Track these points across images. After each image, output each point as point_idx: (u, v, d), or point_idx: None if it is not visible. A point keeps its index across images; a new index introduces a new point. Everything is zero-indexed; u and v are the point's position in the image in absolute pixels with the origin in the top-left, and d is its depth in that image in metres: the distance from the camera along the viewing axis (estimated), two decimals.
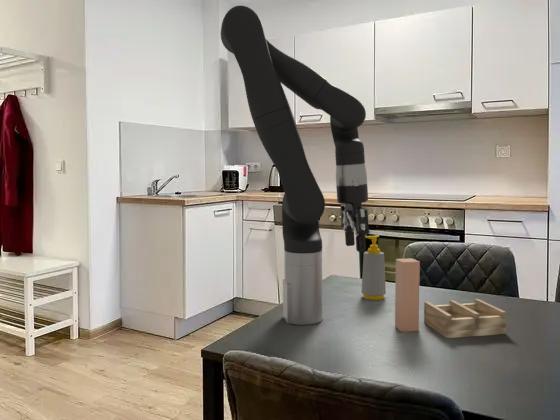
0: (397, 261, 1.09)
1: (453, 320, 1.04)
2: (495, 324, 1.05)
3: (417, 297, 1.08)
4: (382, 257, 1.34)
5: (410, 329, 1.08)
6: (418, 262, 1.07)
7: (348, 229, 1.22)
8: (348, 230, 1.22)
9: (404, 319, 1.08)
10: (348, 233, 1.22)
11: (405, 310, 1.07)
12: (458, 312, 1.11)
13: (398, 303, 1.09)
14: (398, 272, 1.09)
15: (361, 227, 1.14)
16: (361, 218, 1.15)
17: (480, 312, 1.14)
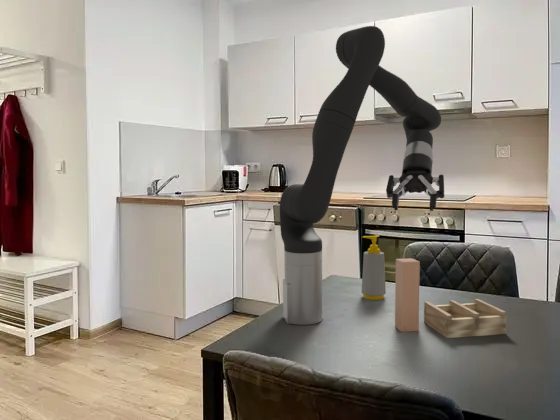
0: (397, 261, 1.09)
1: (453, 320, 1.04)
2: (495, 324, 1.05)
3: (417, 297, 1.08)
4: (382, 257, 1.34)
5: (410, 329, 1.08)
6: (418, 262, 1.07)
7: (397, 195, 1.22)
8: (397, 195, 1.22)
9: (404, 319, 1.08)
10: (398, 197, 1.21)
11: (405, 310, 1.07)
12: (458, 312, 1.11)
13: (398, 303, 1.09)
14: (398, 272, 1.09)
15: (429, 193, 1.21)
16: None
17: (480, 312, 1.14)
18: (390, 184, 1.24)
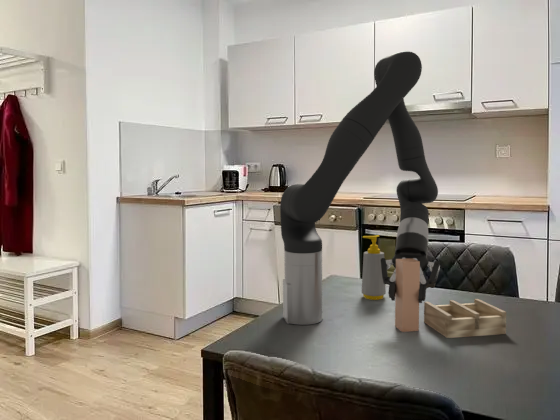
0: (397, 261, 1.09)
1: (453, 320, 1.04)
2: (495, 324, 1.05)
3: (417, 297, 1.08)
4: (382, 257, 1.34)
5: (410, 329, 1.08)
6: (418, 262, 1.07)
7: (395, 282, 1.11)
8: (395, 283, 1.11)
9: (405, 319, 1.08)
10: (395, 286, 1.10)
11: (405, 310, 1.07)
12: (458, 312, 1.11)
13: (398, 303, 1.09)
14: (398, 272, 1.09)
15: None
16: None
17: (480, 312, 1.14)
18: (385, 269, 1.13)
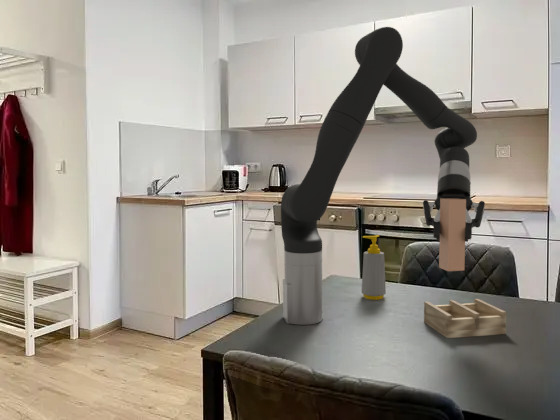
0: (442, 200, 1.08)
1: (453, 320, 1.04)
2: (495, 324, 1.05)
3: (463, 236, 1.06)
4: (382, 257, 1.34)
5: (456, 268, 1.07)
6: (464, 200, 1.05)
7: (439, 223, 1.10)
8: None
9: (450, 258, 1.06)
10: None
11: (451, 249, 1.06)
12: (458, 312, 1.11)
13: (443, 243, 1.08)
14: (443, 211, 1.07)
15: None
16: None
17: (480, 312, 1.14)
18: (428, 210, 1.11)
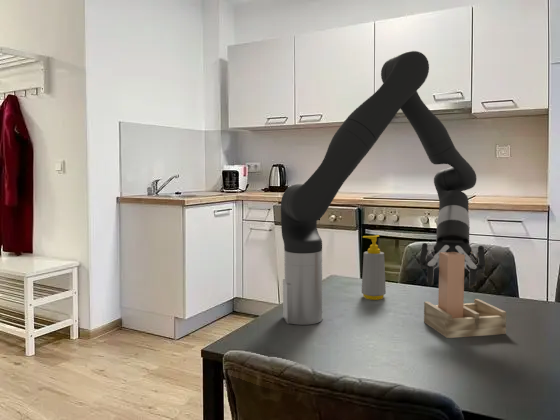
0: (441, 254, 1.09)
1: (453, 320, 1.04)
2: (495, 324, 1.05)
3: (462, 290, 1.07)
4: (382, 257, 1.34)
5: None
6: (463, 255, 1.07)
7: (433, 267, 1.11)
8: None
9: (449, 313, 1.07)
10: (433, 270, 1.10)
11: (449, 304, 1.07)
12: None
13: (442, 296, 1.09)
14: (442, 266, 1.08)
15: (467, 266, 1.10)
16: None
17: (480, 312, 1.14)
18: (424, 254, 1.13)
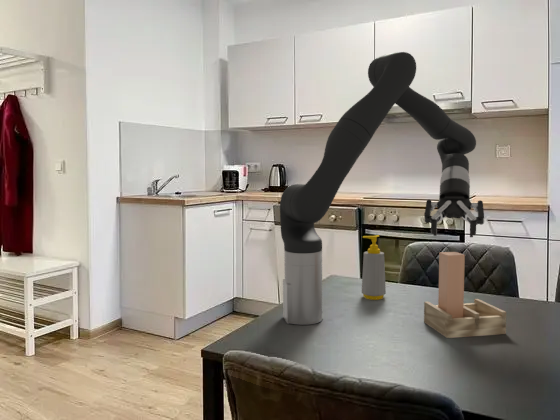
0: (441, 254, 1.09)
1: (453, 320, 1.04)
2: (495, 324, 1.05)
3: (462, 290, 1.07)
4: (382, 257, 1.34)
5: None
6: (463, 255, 1.07)
7: (436, 220, 1.22)
8: None
9: (449, 313, 1.07)
10: (436, 222, 1.21)
11: (449, 304, 1.07)
12: None
13: (442, 296, 1.09)
14: (442, 266, 1.08)
15: (468, 219, 1.21)
16: None
17: (480, 312, 1.14)
18: (428, 209, 1.24)
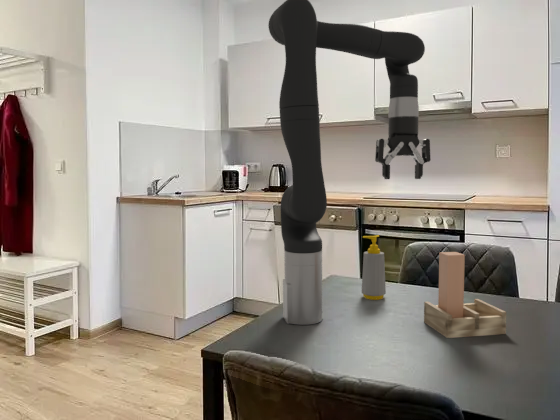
0: (441, 254, 1.09)
1: (453, 320, 1.04)
2: (495, 324, 1.05)
3: (462, 290, 1.07)
4: (382, 257, 1.34)
5: None
6: (463, 255, 1.07)
7: None
8: None
9: (449, 313, 1.07)
10: None
11: (449, 304, 1.07)
12: None
13: (442, 296, 1.09)
14: (442, 266, 1.08)
15: None
16: None
17: (480, 312, 1.14)
18: (382, 151, 1.22)
